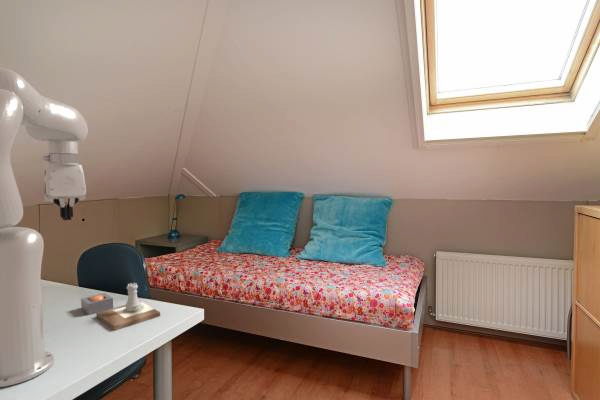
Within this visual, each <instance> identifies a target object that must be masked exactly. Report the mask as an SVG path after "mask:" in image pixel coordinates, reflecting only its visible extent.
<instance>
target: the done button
mask: <svg viewBox="0 0 600 400" xmlns="http://www.w3.org/2000/svg"><path fill="white" fill-rule="evenodd" d="M96 295H97V296H95V295H92V296H93V297H91V298H90V301H91V302H93V301H97V300H101V299H103V295H99V294H96Z"/></svg>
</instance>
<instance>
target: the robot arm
mask: <svg viewBox="0 0 600 400" xmlns="http://www.w3.org/2000/svg"><path fill="white" fill-rule="evenodd" d="M21 125H22V126H25V131H26V132H27V135H29V137H31V138H32V139H33V140H36V141H39V142H47V153H48V154H46V155H42V156H41V157H42V158H41V159H42V161H46V162H47V164H46V165H45V170H44V180H43V181H44V183H43V184H44V185H43V188H44V190H43V192H44V199H43V200H44V202H50V203H54V204H55V205H57V206H58V207H59V214H60V215H59V216H60V218H62V219H61V220H63V221H71V220H72V217H74V212H73V211H74V210H73V209H74V206H75V205H76V204H77V203H79V202H81V201H84V200H86V199H87V197H86V195H87V185H86V179H85V173H84V169H83V165H82V164H79V150H78V149H79V146H78V143H79V142H82V141H84V140H85V139H87V136H88V132H89V128H88V123H87V122H86V120H85V117H83V115H82V114H81V113H80V111H78V109H76V108H74V107H73V106H71V105H69V104H67V103H63V102H61V101H57V100H55V99H52V98H50V97H47V96H43V95H41V93H39V91H37V90H36V89H35V88H34V87H33V85H30V83H29V82H28V81H27V80H26V79H25V78H24V77H23V76H21V75H20V74H19V73H18V72H15V71H14V70H12V69H9V68H6V67H0V388H4V387H9V386H14V385H16V384H21V383H23V382H27V381H29V380H31V379H33V378H36V377H38V376H39V375H42V374H43V373H45V372H46V371H47V370H49V369H50V368H51V367H52V365H53V364H54V362H55V361H54V360H55V356H54V354H53V353H51V352H48V351H46V349H45V336H44V335H45V334H44V317H43V316H44V315H43V302H42V301H43V300H42V298H43V297H42V285H41V283H42V281H41V278H42V277H41V276H42V275H41V274H42V273H41V272H42V264H43V263H42V261H43V256H44V247H45V245H44V243H45V242H44V238H43V236H42V234H41V233H40V232H38V231H37V230H36V229H33V228H29V227H25V226H24V227H22V226H16V225H18V224H19V223H20V222H21V221H22V219H23V216H24V206H23V202H22V197H21V195H20V191H19V187H18V185H17V181H16V177H15V174H14V172H13V167H12V163H11V152H12V148H13V145H14V143H15V140H16V137H17V135H18V132H19V130H20V127H21ZM64 198H67V201H66V202H65V199H64ZM65 203H67V204H65Z"/></svg>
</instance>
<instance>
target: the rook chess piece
mask: <svg viewBox="0 0 600 400" xmlns="http://www.w3.org/2000/svg"><path fill="white" fill-rule="evenodd" d="M125 288H126V290H127V301H126V303H125V307H126V308H125V310H126V311H127V312H134V311H137V310H139V309H140V308H141V306H140V305H141V303H140V302H139V301H140V300H139V299H138V288H139V285H138V284H137V282H133V283H132V282H129V283H127V286H126V287H125Z"/></svg>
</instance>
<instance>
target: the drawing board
mask: <svg viewBox="0 0 600 400" xmlns="http://www.w3.org/2000/svg"><path fill="white" fill-rule="evenodd" d="M139 302H140V303H141V305H140V306H141V308H140V309H139V310H137V311H134V312H127V311H126V310H125V308H126V307H125V305H126V304H125V305H121V306H118V307H113V308H112V309H109V310H105V311H101V312H98V313H95V314H96V315H95V316H96V318H97V319H98V320H100V321H101V322H102V323H104V324H105V325H106V326H108V327H109V328H110V329H112V330H113V331H119V330H121V329H123V328H127V327H130V326H134V325H136V324H139V323H144V322H146V321H149V320H152V319H155V317H156V318H158V317H161V312H160V311H159V310H157V309H156V308H154V307H152V306H150V305H148V304H146V303H145V302H143V301H140V300H139Z"/></svg>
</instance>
